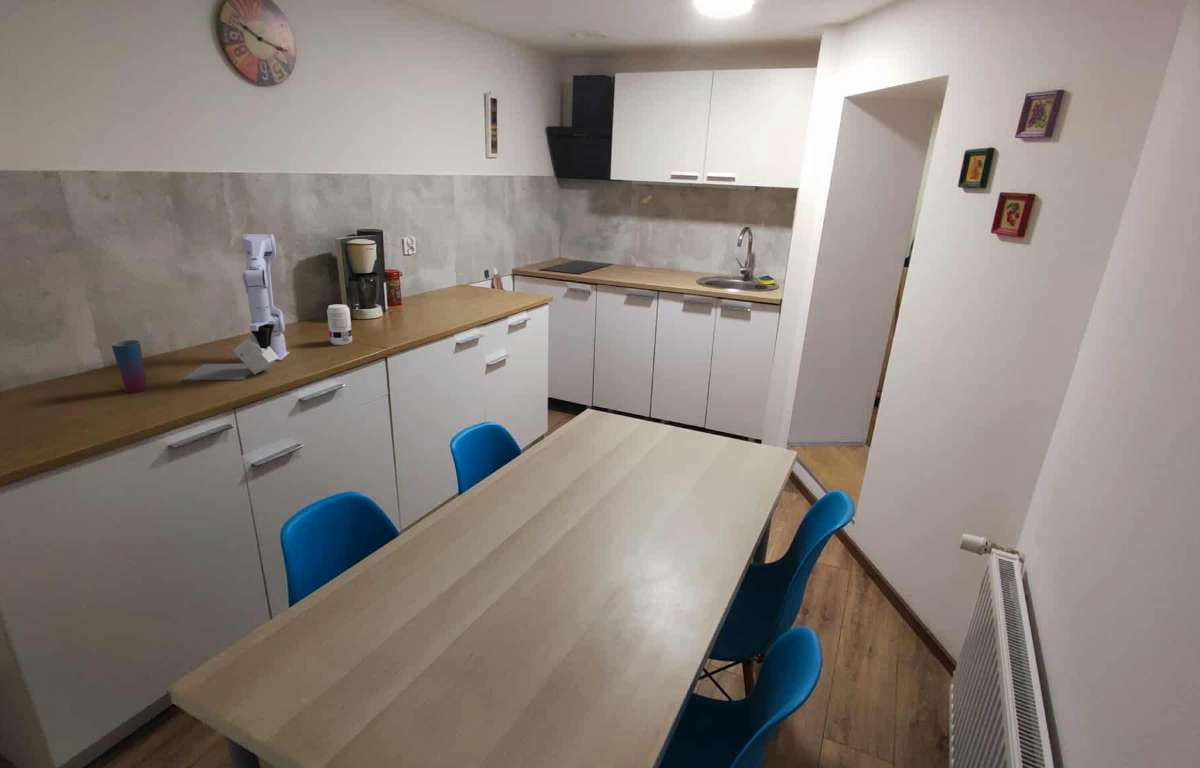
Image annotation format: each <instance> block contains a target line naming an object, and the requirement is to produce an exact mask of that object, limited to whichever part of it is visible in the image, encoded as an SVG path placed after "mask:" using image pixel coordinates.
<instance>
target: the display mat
mask: <svg viewBox="0 0 1200 768" xmlns="http://www.w3.org/2000/svg"><path fill="white" fill-rule="evenodd" d="M250 373H251V374H253V373H252V371H251V370H250V369H249V368H248V367H247V366H246V365H245V364H244V363H204V364H202V365H201V366H199V367H197V368H196V369H195V370H192V372H190V373H189V374H187V375H186V376H184V377H183V378H182V379H181V381H182V382H200V381H199V380H243V379H244V378H245V379H246V377H247V376H248V375H249V374H250ZM251 374H250V375H251ZM250 375H249V376H250ZM249 376H248V377H249ZM248 377H247V378H248ZM245 379H244V380H245ZM244 380H243V381H244Z"/></svg>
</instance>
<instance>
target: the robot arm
mask: <svg viewBox="0 0 1200 768" xmlns="http://www.w3.org/2000/svg"><path fill="white" fill-rule="evenodd" d="M241 244H242V250H243V251H244V254H245V256H246V263H245V271H243V272H242V282H243V285H244V289H245V293H246V295H247V301H248V307H249V313H250V324H249V331H250V332H251V333H252V334H253V335H254V336H255V338H256V339H257V342H258V344H259V346H260V348H268V347H270V348H271V349H272V350H273V351H274V352H275V353H276V354H277V356H278V357H279V358H278V359H277V360H276V361H282V360H283V359H284V358H285V357H287V356H288V355H289V354H290V351H287V343H286V338H285V335H284V334H283V333H284V332H285V326H286V325H285V319H284V314H283V312H282V310H280V309H278V308H277V307H276V306H274V298H273V287H272V285H273V284H272V275H271V264H272V261H274V260H276V259H277V247H276V244H277V243H276V239H275V236H274V234H272V233H270V234H269V233H268V234H259V233H258V234H257V233H256V234H255V233H254V234H252V233H250V234H249V233H248V234H247V233H243V234H242V235H241ZM253 335H252V336H253Z"/></svg>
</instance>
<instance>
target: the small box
mask: <svg viewBox="0 0 1200 768" xmlns="http://www.w3.org/2000/svg"><path fill="white" fill-rule="evenodd" d="M232 352H233V353H234V354H235V355H236V356H237V357H238V358H239V360H241V361H242V364H245V365H246V366H247V367H248V368H249V369H250V370H251V371H252V372H253V373H252V374H253V375H257V373H258V374H260V373H261V371H262V372H263V370H264V371H265V369H266V370H267V369H268V368H269V367H270V366H271V365H272V364H273V363H274V362H275V361H278V360H277V359H278V358H279V357H278V356H277V354H276V353H275V352H274V351H273V350H272V349H271V348H270V347H268V348H260V346H259V344H258V342H257V339H256V338H255V336H254V335H250V336H248V337H246V338H244V340H242V341H241V343H239V344H238V345H237V346H236V347H235V348H234V349H233V350H232ZM259 372H260V373H259Z"/></svg>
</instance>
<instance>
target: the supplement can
mask: <svg viewBox="0 0 1200 768" xmlns="http://www.w3.org/2000/svg"><path fill="white" fill-rule="evenodd" d="M326 314H327V324H328V333H329V334H328V335H329V341H330V343H331V344H332V345H334V346H346V345H349V343H350V344H351V343H352V342H353V333H352V320H351V312H350V307H348V305H347V304H343V303H341V304H339V303H337V304H336V303H335V304H330V305H328V308H327V309H326Z"/></svg>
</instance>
